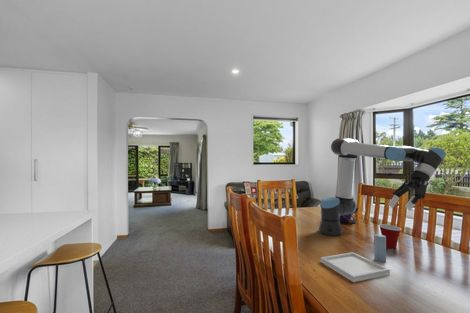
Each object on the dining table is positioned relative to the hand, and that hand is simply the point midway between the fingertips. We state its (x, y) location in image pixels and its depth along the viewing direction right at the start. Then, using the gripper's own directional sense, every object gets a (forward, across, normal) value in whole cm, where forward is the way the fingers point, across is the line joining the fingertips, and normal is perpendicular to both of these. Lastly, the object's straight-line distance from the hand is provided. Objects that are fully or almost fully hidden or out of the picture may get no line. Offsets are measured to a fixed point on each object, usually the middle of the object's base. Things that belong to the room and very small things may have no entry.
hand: (398, 207), depth 118 cm
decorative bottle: (+13, +74, -12) cm, 76 cm away
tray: (+38, -8, +5) cm, 39 cm away
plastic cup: (+16, +18, -18) cm, 30 cm away
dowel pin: (+27, 0, -7) cm, 28 cm away
